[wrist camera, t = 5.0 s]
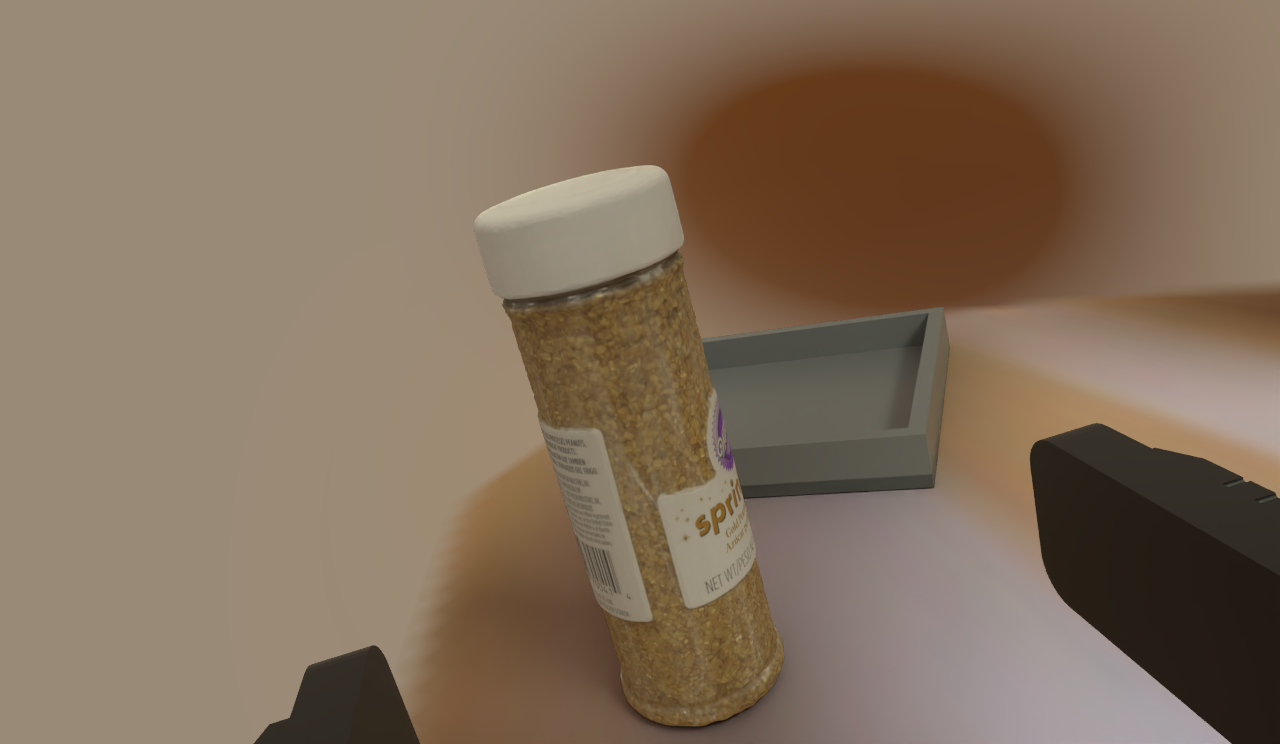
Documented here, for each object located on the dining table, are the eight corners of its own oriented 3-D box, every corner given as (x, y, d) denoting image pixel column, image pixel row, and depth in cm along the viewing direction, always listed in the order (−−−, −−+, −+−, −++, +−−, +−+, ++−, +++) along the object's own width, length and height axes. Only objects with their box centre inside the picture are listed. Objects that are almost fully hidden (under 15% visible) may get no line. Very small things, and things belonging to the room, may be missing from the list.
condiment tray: (949, 347, 41) (943, 306, 41) (934, 487, 30) (925, 434, 30) (687, 377, 47) (678, 341, 46) (591, 506, 36) (578, 461, 35)
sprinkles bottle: (808, 703, 22) (679, 166, 18) (631, 756, 22) (459, 227, 18) (763, 604, 27) (651, 152, 22) (614, 647, 26) (474, 201, 22)
